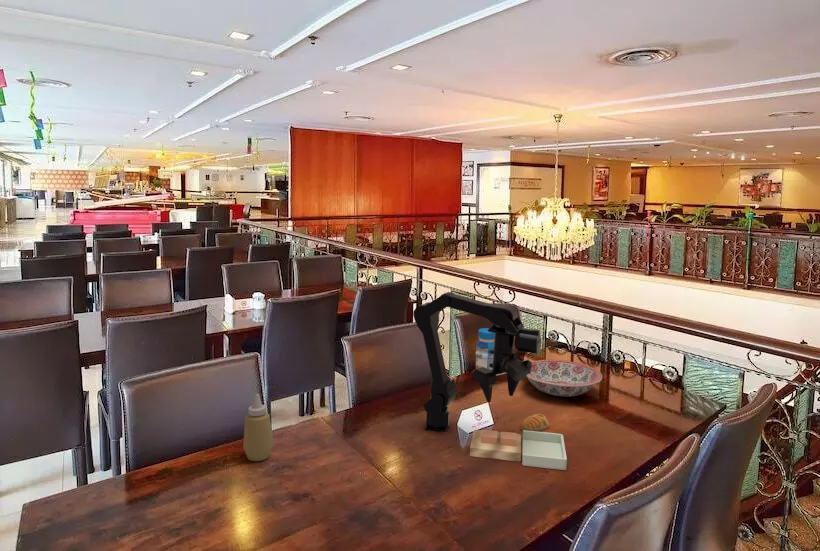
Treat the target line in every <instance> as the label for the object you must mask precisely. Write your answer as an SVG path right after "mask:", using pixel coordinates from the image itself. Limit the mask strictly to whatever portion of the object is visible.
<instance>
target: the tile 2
mask: <svg viewBox="0 0 820 551" xmlns="http://www.w3.org/2000/svg"><path fill="white" fill-rule="evenodd" d="M500 432H501V444H500V445H507V446H516V447H517V434H518V433H517V432H510V431H509V432H508V431H500Z"/></svg>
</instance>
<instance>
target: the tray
mask: <svg viewBox="0 0 820 551" xmlns="http://www.w3.org/2000/svg"><path fill="white" fill-rule="evenodd" d="M564 440H565V438H564V434H563V433H555V432H554V433H553V432H546V431H545V432H544V431H526V430H522V452H521V457H522V458H521V460H522V462H521V464H522V466H525V467H534V468H540V469H541V468H542V469H549V470H550V469H552V470H559V471H560V470H562V471H567V463H568V459H567V453H566V446H565V441H564Z"/></svg>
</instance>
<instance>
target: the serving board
mask: <svg viewBox="0 0 820 551" xmlns="http://www.w3.org/2000/svg"><path fill="white" fill-rule="evenodd" d="M482 430H483V429H482ZM482 430H480V429H473V431H472V437H471V441H470V442H471V443H470V446H469V447H470V448H469V456H470V457H476V458H485V459H492V460H502V461H503V460H504V461H510V462H511V461H512V462H519V463H520V462H521V460H522V458H521V457H522V434H520V433H517V447H516V446H507V445H500V444H501V431H500V432H499V431H498V439H497V444H488V443H481V435H482ZM521 463H522V462H521Z"/></svg>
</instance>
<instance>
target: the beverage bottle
mask: <svg viewBox="0 0 820 551" xmlns="http://www.w3.org/2000/svg"><path fill="white" fill-rule="evenodd" d="M489 328H490V327H489ZM489 328H487V327H485V328H479V329H478V332H477V333H478V341H477V342H476V346H475V347H476V351H475V369H478V368H482V367H484V368H487V369H489V370H493V368H491V367H489V365H490V363H493V354H491V353H490V350H493V349H494V336H495V333H493V332H488V329H489Z"/></svg>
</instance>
